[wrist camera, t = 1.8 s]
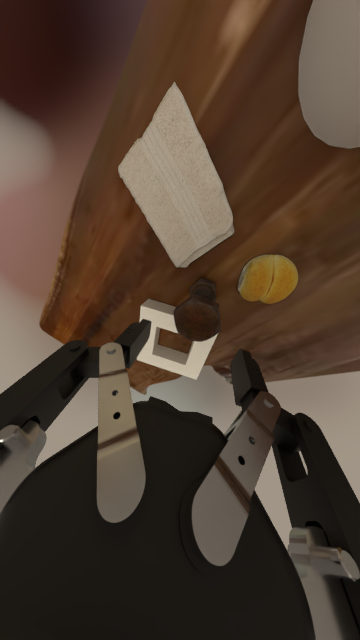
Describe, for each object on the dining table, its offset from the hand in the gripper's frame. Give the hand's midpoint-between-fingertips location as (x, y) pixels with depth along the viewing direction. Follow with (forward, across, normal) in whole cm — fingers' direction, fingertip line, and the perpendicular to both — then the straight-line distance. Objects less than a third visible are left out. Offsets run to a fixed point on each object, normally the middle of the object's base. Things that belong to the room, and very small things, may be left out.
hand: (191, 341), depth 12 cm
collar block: (+18, +3, +15) cm, 24 cm away
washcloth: (+19, +8, -12) cm, 24 cm away
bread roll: (+19, -10, -4) cm, 22 cm away
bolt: (+19, 0, 0) cm, 19 cm away
